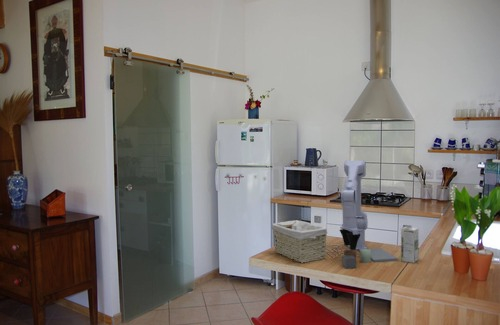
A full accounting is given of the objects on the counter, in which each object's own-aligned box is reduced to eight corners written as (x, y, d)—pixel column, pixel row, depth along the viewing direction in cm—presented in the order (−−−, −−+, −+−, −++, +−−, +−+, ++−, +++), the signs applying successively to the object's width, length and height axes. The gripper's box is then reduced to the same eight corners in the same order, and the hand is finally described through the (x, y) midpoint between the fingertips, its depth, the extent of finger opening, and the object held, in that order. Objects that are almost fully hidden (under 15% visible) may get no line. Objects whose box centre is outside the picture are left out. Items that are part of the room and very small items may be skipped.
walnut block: (344, 261, 176) (344, 250, 175) (353, 260, 176) (352, 249, 176) (347, 263, 172) (347, 252, 172) (356, 263, 172) (356, 251, 172)
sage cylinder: (359, 260, 177) (358, 249, 176) (368, 259, 177) (368, 248, 177) (362, 263, 172) (362, 251, 172) (372, 262, 173) (372, 251, 172)
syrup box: (405, 258, 177) (404, 226, 177) (419, 260, 174) (418, 227, 173) (401, 261, 173) (400, 228, 173) (415, 263, 169) (414, 229, 169)
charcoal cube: (342, 265, 169) (342, 255, 169) (352, 265, 169) (352, 255, 169) (345, 269, 165) (345, 258, 165) (356, 268, 165) (355, 258, 165)
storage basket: (329, 259, 180) (328, 227, 179) (300, 265, 172) (299, 231, 171) (298, 248, 201) (297, 219, 200) (271, 253, 193) (270, 223, 192)
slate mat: (358, 251, 191) (358, 249, 191) (380, 250, 192) (380, 248, 192) (374, 262, 173) (374, 259, 173) (398, 260, 174) (398, 258, 174)
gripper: (335, 214, 180) (335, 244, 180) (346, 220, 166) (346, 252, 166) (350, 213, 181) (350, 243, 181) (362, 219, 166) (363, 251, 167)
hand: (350, 247), depth 174 cm, fingers open, 7 cm apart
